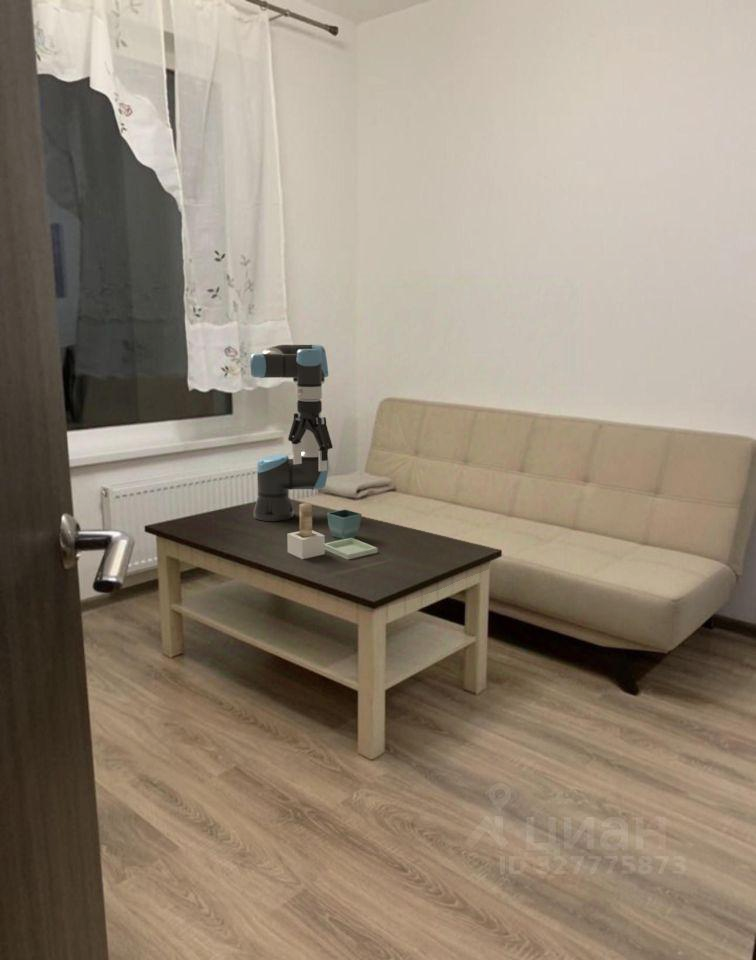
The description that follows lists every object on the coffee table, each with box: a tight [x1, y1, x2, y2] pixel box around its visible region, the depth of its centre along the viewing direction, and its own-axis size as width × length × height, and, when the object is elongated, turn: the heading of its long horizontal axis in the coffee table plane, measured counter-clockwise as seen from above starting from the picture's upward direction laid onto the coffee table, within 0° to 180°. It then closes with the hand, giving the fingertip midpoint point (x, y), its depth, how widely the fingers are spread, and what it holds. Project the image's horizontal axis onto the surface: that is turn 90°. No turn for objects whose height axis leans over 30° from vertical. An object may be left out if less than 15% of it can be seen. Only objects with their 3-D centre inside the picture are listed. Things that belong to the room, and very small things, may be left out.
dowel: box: [298, 502, 313, 538], centre depth 240 cm, size 4×4×16 cm
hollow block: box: [286, 529, 326, 560], centre depth 242 cm, size 9×9×7 cm
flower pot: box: [326, 509, 363, 540], centre depth 260 cm, size 9×9×9 cm
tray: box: [325, 537, 378, 560], centre depth 245 cm, size 14×12×2 cm
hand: (309, 467), depth 237 cm, fingers open, 13 cm apart
